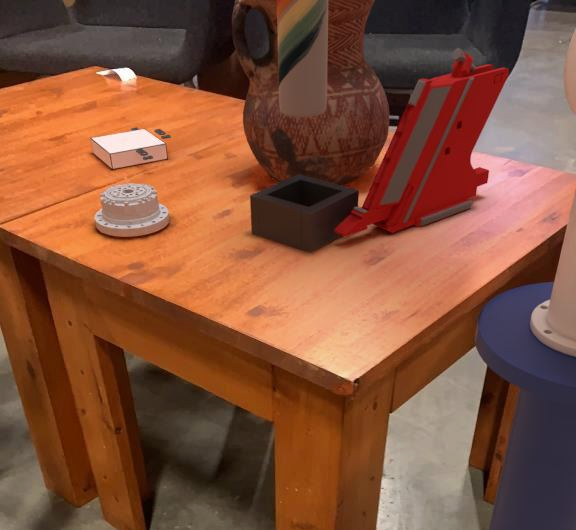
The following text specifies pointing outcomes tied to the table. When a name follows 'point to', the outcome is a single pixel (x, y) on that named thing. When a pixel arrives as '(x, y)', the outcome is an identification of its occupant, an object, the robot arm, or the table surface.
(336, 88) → the jug
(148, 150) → the container
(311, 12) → the lotion bottle
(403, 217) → the tool
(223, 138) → the table surface
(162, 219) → the mechanical component
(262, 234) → the holder
